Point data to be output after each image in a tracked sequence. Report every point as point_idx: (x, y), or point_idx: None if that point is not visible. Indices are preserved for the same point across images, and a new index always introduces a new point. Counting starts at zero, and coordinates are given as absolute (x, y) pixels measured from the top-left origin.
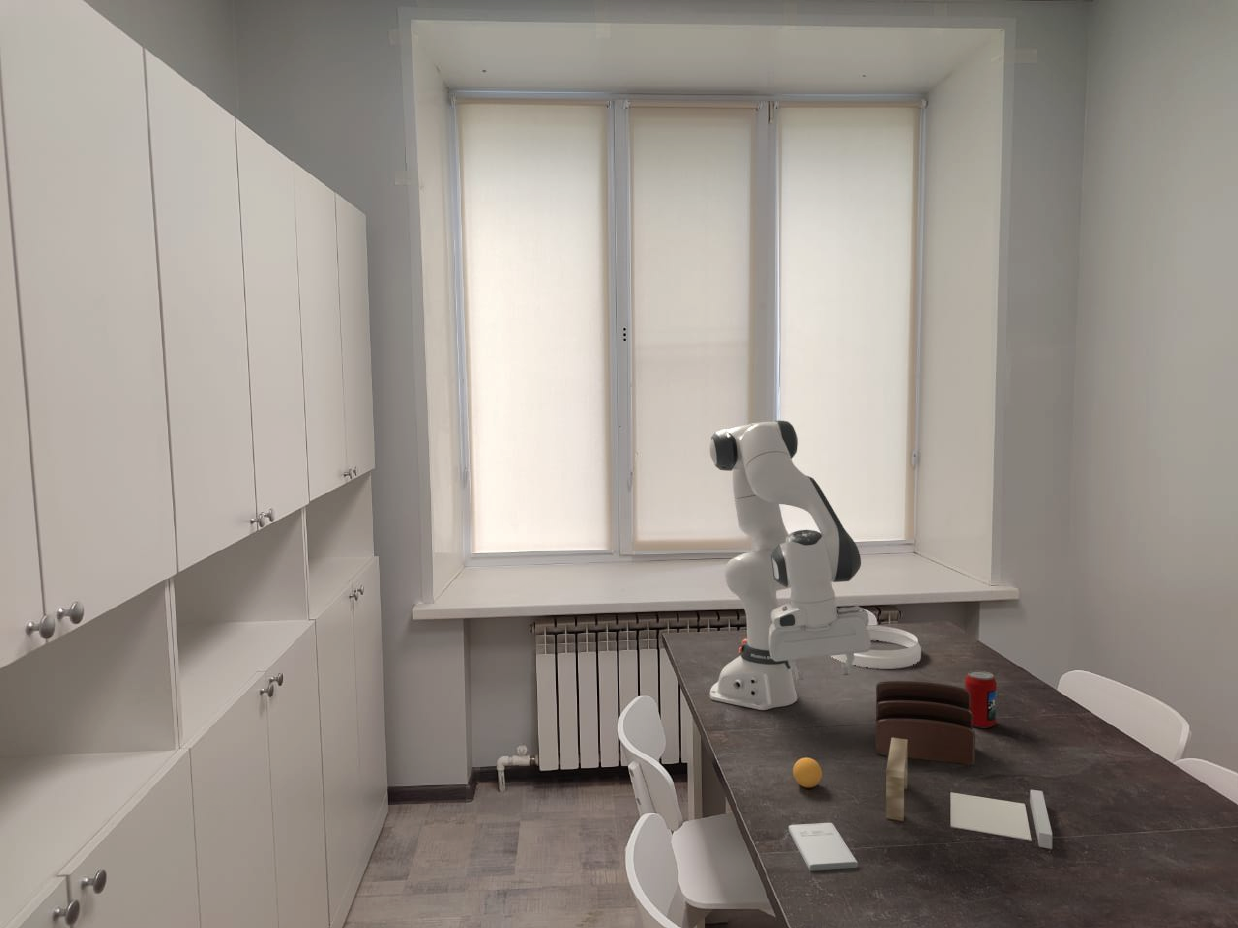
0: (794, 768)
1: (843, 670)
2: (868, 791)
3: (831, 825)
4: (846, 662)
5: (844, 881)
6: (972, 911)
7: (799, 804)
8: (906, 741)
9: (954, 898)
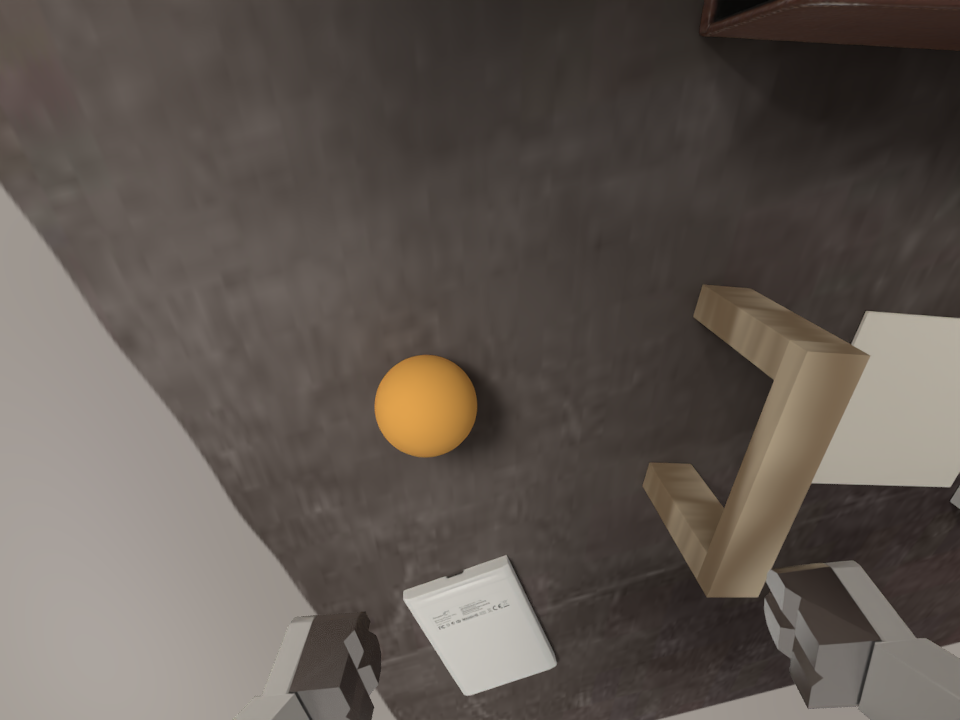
0: (381, 431)
1: (794, 671)
2: (617, 365)
3: (505, 576)
4: (904, 691)
5: (527, 691)
6: (726, 691)
7: (414, 486)
8: (858, 373)
9: (708, 675)
